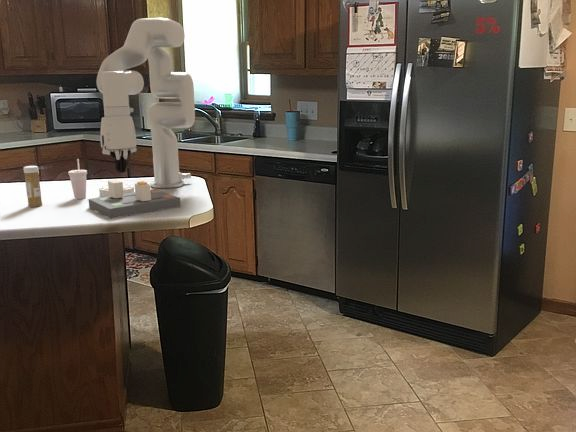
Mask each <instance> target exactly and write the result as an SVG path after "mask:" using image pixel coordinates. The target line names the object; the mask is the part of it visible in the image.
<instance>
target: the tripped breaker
mask: <svg viewBox="0 0 576 432" xmlns="http://www.w3.org/2000/svg"><path fill="white" fill-rule="evenodd" d="M150 190H151V184H150V183H149V184H148V182H147V181H144V180H141V181H137V182H136V183H134V192H135V194H136V199H138V200H140V201H148V200H151V192H150Z"/></svg>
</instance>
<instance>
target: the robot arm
mask: <svg viewBox="0 0 576 432" xmlns="http://www.w3.org/2000/svg"><path fill="white" fill-rule="evenodd" d="M184 30H185V29H184V27H183V26H182V24H181V23H179V22H178V21H175V20H173V19H170V18H167V17H166V18H164V17H155V18H154V17H150V18H148V17H146V18H145V17H144V18H138V19H136V20H134V21H133V22H132V23H131V26H130V28H129V31H128V34H127V37H126V39H125V41H124V44H123V46H122V47H120V48H118V49H116V50H115V51H113V52H112V53H111V54H109V55H108V56H107V57H106V58H104V59H103V61H102V63H101V65H100V67H99V70H98V72H97V76H96V87H97V89H98V91H99V92H100V93H101V94H102V101H103V111H104V112H103V115H104V117H101V121H100V147H101V149H102V150H101V151H102V152H101V153H102V154H103V155H106V156H111V158H113V159H114V165H115V166H114V167H115V170H116V172H117V173H127V172H126V170H127V160H128V157H129V155H130V154H132V153H135V152H137V150H138V149H137V136H136V135H137V134H136V133H137V132H136V128H135V124H134V123H135V122H134V120H133V117H132V116H131V113H134V111H135V110H134V108H133V107H131V106H130V97H129V95H130V96H132V95H133V96H135V95H138V94H140V93H141V92H142V91H143V88H144V86H145V82H144V77H143V75H142V74H141V73H140V72H139V71H137V70H130V69H132V68H136V67H138V66H140V65H142V64H144V63H145V62H147V60H148V69H149V70H148V73H149V74H148V75H149V88H150V93H151V95H152V96H153V97H154V98H156V99H179V101H177V102H176V101H175V102H174V101H173V102H172V101H165V102H164V101H162V102H161V101H160V102H154V103H151V104H150V105H149V107H148V108H147V110H146V111H147V112H146V113H147V114H146V115H147V120H148V124H149V128H150V129H149V130H150V135H151V144H152V145H151V147H152V148H151V150H152V161H153V162H152V164H153V175H154V177H153V178H154V181H151V182H150V187H152V188H153V189H154V188H155V189H175V188H179V187H182V186H184V185H185V181H184V179H191V177H192V173H190V172H188V173H182V172H180V161H179V143H178V137H177V136H176V134H175V132H174V131H173V130H172V129H188V128H192V127H193V126H194V125H195V120H196V110H195V108H196V107H195V88H194V82H193V81H194V80H193V78H192V76H191V74H189V73H188V72H183V71H182V72H181V71H178V72H177V71H175V72H174V70H173V59H172V56H171V54H170V53H169V51H168V50H167V49H166V48H179V47H181V46H182V45H183V44H184V41H185V31H184Z"/></svg>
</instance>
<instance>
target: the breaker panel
mask: <svg viewBox="0 0 576 432" xmlns="http://www.w3.org/2000/svg"><path fill="white" fill-rule="evenodd" d="M150 192H151V200H148V201H140V200H138V199H136V194H135V191H134V192H133V193H126V194H124V197H121V198H113V197H111V196H106V197H100V196H99V197H94V198H88V207H89V209H91V210H93V211H94V212H96V213H99V214H101V215H102V216H105V217H107V218H108V219H114V218H121V217H122V218H123V217H126V216H132V215H138V214H144V213H151V212H156V211H162V210H167V209H169V210H170V209H174V208H180V207H181V197H179V196H176V195H173V194H170V193H168V192H164V191H162V190H159V189H157V188H155V189H154V188H153V189H150Z"/></svg>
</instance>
